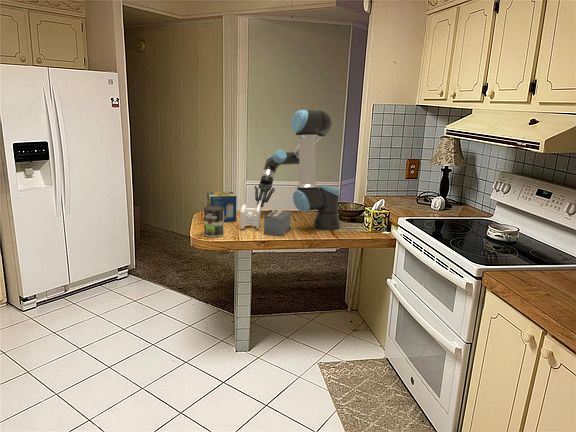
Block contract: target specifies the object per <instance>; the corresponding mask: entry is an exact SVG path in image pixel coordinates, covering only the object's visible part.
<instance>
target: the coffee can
mask: <svg viewBox="0 0 576 432" xmlns="http://www.w3.org/2000/svg"><path fill="white" fill-rule="evenodd" d="M203 211H204V212H203V213H204V214H203V216H204V217H203V220H204V221H203V222H204V223H203V225H204V226H203V232H204V233H203V235H204V236H206V237H208V238H219V237H222V236H224V234H225V233H224V232H225V229H224V228H225V222H224V207H221V206H207V205H206V206H204V207H203Z"/></svg>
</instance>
